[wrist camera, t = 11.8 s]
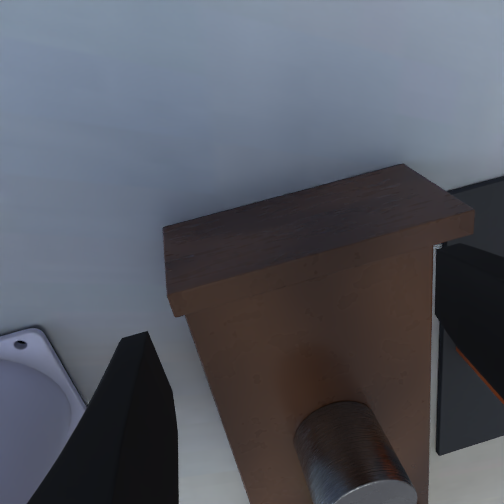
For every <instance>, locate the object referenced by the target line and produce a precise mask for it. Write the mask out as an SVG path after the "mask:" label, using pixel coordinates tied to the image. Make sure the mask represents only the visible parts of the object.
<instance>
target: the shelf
mask: <svg viewBox="0 0 504 504" xmlns="http://www.w3.org/2000/svg"><path fill="white" fill-rule="evenodd" d="M474 221H475V210H474V209H473V208H471V207H470V206H468V205H467V204H465V203H464V202H462V201H460V200H459V199H457V198H456V197H454V196H453V195H451V194H450V193H448V192H447V191H445V190H443V189H442V188H440V187H439V186H437V185H436V184H434V183H433V182H431V181H429V180H428V179H426V178H425V177H423V176H422V175H420V174H419V173H417V172H416V171H414V170H412V169H411V168H409V167H408V166H406V165H405V164H400V165H396V166H393V167H389V168H385V169H381V170H378V171H374V172H370V173H366V174H362V175H359V176H355V177H351V178H347V179H344V180H340V181H336V182H332V183H329V184H325V185H321V186H317V187H314V188H310V189H306V190H302V191H298V192H295V193H291V194H287V195H283V196H280V197H276V198H272V199H268V200H265V201H261V202H257V203H253V204H250V205H246V206H242V207H238V208H234V209H231V210H227V211H223V212H219V213H216V214H212V215H208V216H204V217H201V218H197V219H193V220H189V221H186V222H182V223H178V224H174V225H170V226H167V227H163V242H164V258H165V274H166V290H167V298H168V300H169V303H170V306H171V309H172V311H173V314H174V317H180V316H183V315H185V317H186V320H187V323H188V326H189V329H190V332H191V335H192V338H193V340H194V343H195V346H196V349H197V352H198V355H199V358H200V361H201V363H202V366H203V369H204V372H205V375H206V378H207V381H208V383H209V386H210V389H211V392H212V395H213V398H214V401H215V404H216V406H217V409H218V412H219V415H220V418H221V421H222V424H223V427H224V429H225V432H226V435H227V438H228V441H229V444H230V447H231V450H232V452H233V455H234V458H235V461H236V464H237V467H238V470H239V472H240V475H241V478H242V481H243V484H244V487H245V490H246V493H247V495H248V498H249V501H250V504H313V502H312V498H311V495H310V492H309V489H308V486H307V483H306V480H305V477H304V474H303V471H302V468H301V465H300V462H299V459H298V456H297V453H296V449H295V446H294V436H295V433H296V430H297V428H298V427H299V425H300V424H301V423H302V421H303V420H304V419H305V418H306V417H307V416H309V415H310V414H311V413H313V412H314V411H316V410H318V409H319V408H321V407H324V406H326V405H329V404H332V403H336V402H342V401H353V402H358V403H362V404H364V405H366V406H367V407H369V408H370V409H371V410H372V411H373V413H374V414H375V416H376V418H377V420H378V422H379V424H380V425H381V427H382V429H383V431H384V433H385V435H386V436H387V438H388V440H389V442H390V444H391V446H392V447H393V449H394V451H395V453H396V455H397V457H398V458H399V460H400V462H401V464H402V466H403V468H404V469H405V471H406V473H407V475H408V477H409V479H410V480H411V482H412V484H413V486H414V488H415V490H416V492H417V498H418V499H417V504H428V488H429V436H430V383H431V330H432V278H433V245H436V244H439V243H443V242H447V241H450V240H454V239H457V238H461V237H464V236H468V235H471V234H473V233H474Z"/></svg>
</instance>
